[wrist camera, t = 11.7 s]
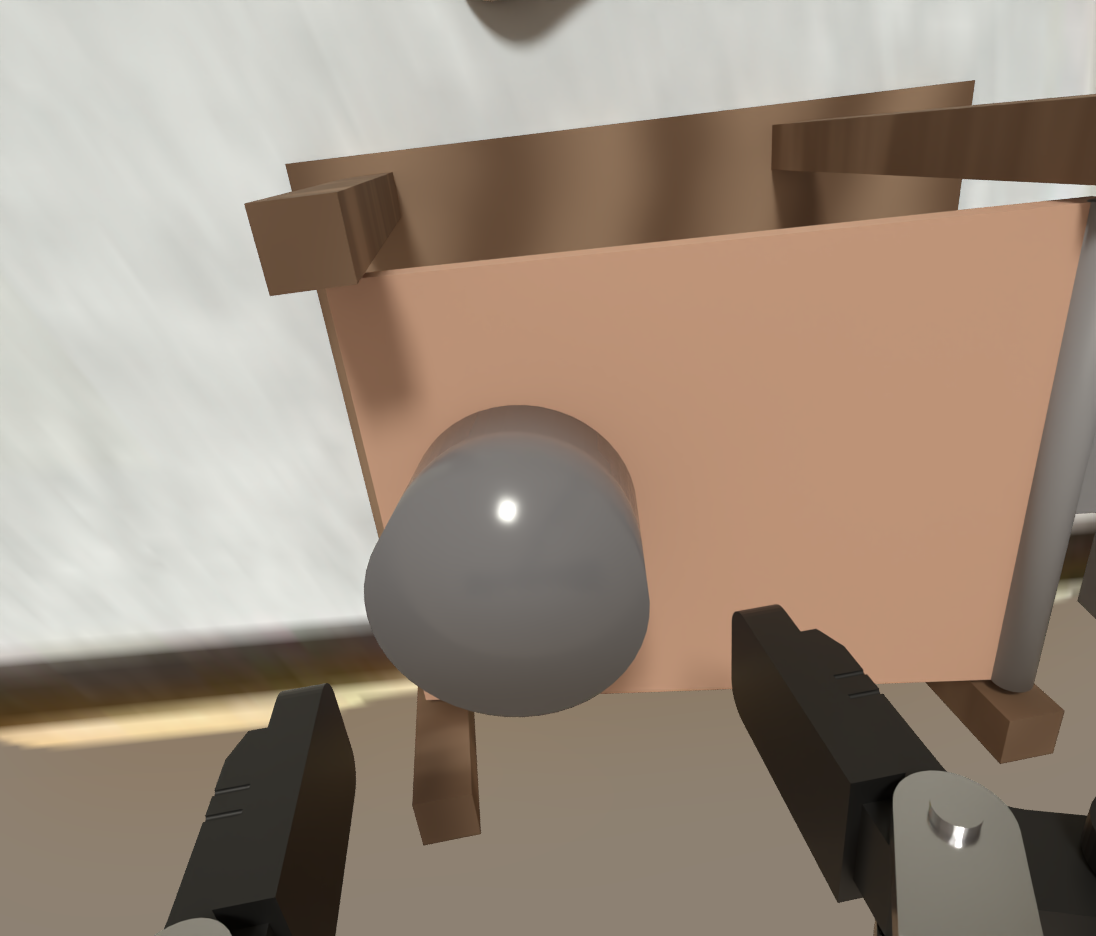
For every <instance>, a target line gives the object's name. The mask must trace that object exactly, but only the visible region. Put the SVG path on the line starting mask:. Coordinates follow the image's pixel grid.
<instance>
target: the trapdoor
mask: <svg viewBox="0 0 1096 936" xmlns="http://www.w3.org/2000/svg"><path fill="white" fill-rule="evenodd" d="M325 290H326V294H327V298H328V302H329V306H330V310H331V314H332V318H333V322H334V326H335V331H336V335H337V339H338V343H339V347H340V351H341V355H342V359H343V363H344V367H345V371H346V375H347V380H348V384H349V388H350V392H351V396H352V400H353V404H354V408H355V412H356V416H357V420H358V425H359V429H360V433H361V437H362V441H363V445H364V449H365V453H366V457H367V461H368V465H369V469H370V474H371V478H372V482H373V486H374V490H375V494H376V498H377V502H378V506H379V510H380V514H381V519H382V523H383V527H384V529H385V527H386V525H387V523H388V521H389V519H390V518H391V516H392V514H393V512H394V510H395V508H396V506H397V504H398V502H399V501H400V499H401V497H402V495H403V493H404V491H405V489H406V487H407V486H408V484H409V482H410V480H411V478H412V476H413V474H414V472H415V471H416V469H417V467H418V465H419V463H420V461H421V459H422V457H423V455H424V454H425V453H426V451H427V450H428V448H429V447H430V445H431V444H432V443H433V442H434V441H435V440H436V439H437V438H438V436H439V435H440V434H441V433H443V432H444V431H445V430H446V429H448V428H449V427H450V426H451V425H453V424H454V423H456V422H458V421H459V420H461V419H463V418H464V417H467V416H469V415H471V414H474V413H476V412H478V411H482V410H486V409H489V408H493V407H500V406H507V405H530V406H539V407H544V408H548V409H552V410H556V411H559V412H562V413H564V414H567V415H570V416H572V417H574V418H576V419H578V420H580V421H582V422H584V423H585V424H587V425H588V426H590V427H591V428H593V429H594V430H595V431H597V432H598V433H599V434H600V435H601V436H603V437H604V438H605V439H606V440H607V441H608V442H609V443H610V444H611V445H612V447H613V448H614V449H615V450H616V451H617V453H618V454H619V455H620V457H621V459H622V460H623V462H624V463H625V465H626V467H627V469H628V471H629V474H630V476H631V478H632V482H633V485H634V489H635V494H636V501H637V509H638V516H639V524H640V531H641V539H642V546H643V554H644V561H645V569H646V577H647V584H648V592H649V599H650V612H649V622H648V627H647V632H646V635H645V638H644V640H643V643H642V646H641V648H640V650H639V652H638V653H637V655H636V657H635V659H634V661H633V662H632V663H631V665H630V666H629V667H628V669H627V670H626V671H625V672H624V673H623V674H622V675H621V676H620V677H619V678H618V679H617V680H616V681H615V682H614V683H613V684H612V685H611V686H609V687H608V688H607V689H605V690H604V691H603V692H601V693H600V694H608V693H635V692H662V691H691V690H716V689H717V690H718V689H732V681H731V647H732V616H733V613H734V612H735V611H740V610H746V609H752V608H757V607H763V606H768V605H774V604H778V605H780V606H781V607H783V609H784V610H785V611H786V612H787V614H788V615H789V616H790V618H791V619H792V620H793V622H794V623H795V625H796V626H797V627H798V629H799V630H800V631H806V630H811V629H818V630H819V631H821V632H823V633H824V634H826V635H827V636H829V637H831V638H832V639H834V640H835V641H837V642H838V643H840V644H842V645H843V646H845V648H846V649H847V650H848V651H849V652H850V654H851V655H852V656H853V657H854V659H855V660H856V661H857V662H858V664H859V665H860V666H861V667H862V669H863V671H864V674H867V675H868V676H869V677H870V678H871V680H872V681H873V682H874V683H875V684H883V683H908V682H909V683H911V682H939V681H966V680H992V682H994V683H995V684H996V685H997V686H999V687H1001V688H1003V689H1005V690H1008V691H1012V692H1027V691H1029V690H1031V689H1032V688H1033V685H1034V681H1035V677H1036V673H1037V668H1038V664H1039V661H1040V656H1041V652H1042V648H1043V644H1044V640H1045V636H1046V632H1047V628H1048V624H1049V620H1050V616H1051V612H1052V607H1053V603H1054V599H1055V595H1056V591H1057V587H1058V583H1059V579H1060V575H1061V571H1062V567H1063V562H1064V558H1065V554H1066V550H1067V546H1068V542H1069V538H1070V534H1071V530H1072V526H1073V522H1074V518H1075V514H1081V513H1096V197H1095V196H1089V197H1079V198H1070V199H1060V200H1051V201H1041V202H1032V203H1022V204H1013V205H1003V206H994V207H984V208H975V209H965V210H956V211H946V212H937V213H927V214H918V215H908V216H899V217H889V218H880V219H870V220H861V221H851V222H842V223H832V224H823V225H813V226H804V227H794V228H785V229H775V230H766V231H756V232H747V233H737V234H728V235H718V236H709V237H699V238H690V239H680V240H671V241H661V242H651V243H642V244H632V245H623V246H613V247H604V248H594V249H585V250H575V251H566V252H556V253H547V254H537V255H528V256H518V257H509V258H499V259H490V260H480V261H471V262H461V263H452V264H442V265H433V266H423V267H414V268H404V269H395V270H385V271H376V272H366V273H364V275H363V276H362V278H361V279H360V281H359V283H358V284H355V285H347V286H340V287H333V288H325ZM1078 602H1079V603H1080V604H1081V605H1082V606H1083V607H1084V608H1085V609H1086V610H1087V611H1088V612H1089V613H1090V614H1091V615H1092V616H1093V617H1095V619H1096V532H1095V536H1094V540H1093V543H1092V547H1091V551H1090V555H1089V559H1088V562H1087V566H1086V570H1085V574H1084V578H1083V582H1082V585H1081V589H1080V593H1079V597H1078ZM424 694H425V698H426V700H440V699H438V698H436V697H434V696H433V695H431V694H429V693H427V692H425V691H424Z"/></svg>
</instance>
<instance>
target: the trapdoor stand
mask: <svg viewBox="0 0 1096 936" xmlns="http://www.w3.org/2000/svg"><path fill="white" fill-rule="evenodd" d="M974 84H975V80H973V81H965V82H956V83H948V84H940V85H932V86H923V87H915V88H907V89H899V90H891V91H882V92H874V93H866V94H858V95H849V96H841V97H833V98H825V99H817V100H808V101H800V102H792V103H784V104H776V105H767V106H759V107H751V108H743V109H734V110H726V111H718V112H710V113H702V114H693V115H685V116H677V117H669V118H660V119H652V120H644V121H636V122H628V123H619V124H611V125H603V126H595V127H586V128H578V129H570V130H562V131H554V132H545V133H537V134H529V135H521V136H512V137H504V138H496V139H488V140H480V141H471V142H463V143H455V144H447V145H438V146H430V147H422V148H414V149H406V150H397V151H389V152H381V153H373V154H365V155H356V156H348V157H340V158H332V159H323V160H315V161H307V162H299V163H291V164H285V165H286V169H287V173H288V177H289V181H290V185H291V189H292V192H289V193H285V194H281V195H277V196H273V197H269V198H265V199H261V200H257V201H253V202H249V203H245V204H244V205H245V209H246V212H247V216H248V219H249V223H250V226H251V230H252V234H253V237H254V241H255V244H256V248H257V251H258V255H259V259H260V262H261V266H262V269H263V273H264V276H265V280H266V284H267V287H268V291H269V294H270V296H274V295H281V294H288V293H296V292H303V291H311V290H317V293H318V297H319V301H320V305H321V309H322V313H323V317H324V321H325V325H326V329H327V333H328V337H329V341H330V345H331V349H332V353H333V357H334V361H335V365H336V369H337V373H338V377H339V381H340V385H341V389H342V393H343V397H344V401H345V405H346V409H347V413H348V417H349V421H350V425H351V429H352V433H353V437H354V441H355V445H356V449H357V453H358V457H359V461H360V465H361V469H362V473H363V477H364V481H365V485H366V489H367V493H368V497H369V501H370V505H371V509H372V513H373V517H374V521H375V525H376V529H377V533H378V537H379V538H380V536H381V534H382V533H383V531H384V527H383V523H382V519H381V514H380V510H379V506H378V502H377V498H376V494H375V490H374V486H373V482H372V478H371V474H370V469H369V465H368V461H367V457H366V453H365V449H364V445H363V441H362V437H361V433H360V429H359V425H358V420H357V416H356V412H355V408H354V404H353V400H352V396H351V392H350V388H349V384H348V380H347V375H346V371H345V367H344V363H343V359H342V355H341V351H340V347H339V343H338V339H337V335H336V331H335V326H334V322H333V318H332V314H331V310H330V306H329V302H328V298H327V294H326V290H325V288H333V287H340V286H347V285H355V284H358V283H359V281H360V279H361V278H362V276H363V275H364V273H366V272H376V271H385V270H395V269H404V268H414V267H423V266H433V265H442V264H452V263H461V262H471V261H480V260H490V259H499V258H509V257H518V256H528V255H537V254H547V253H556V252H566V251H575V250H585V249H594V248H604V247H613V246H623V245H632V244H642V243H651V242H661V241H671V240H680V239H690V238H699V237H709V236H718V235H728V234H737V233H747V232H756V231H766V230H775V229H785V228H794V227H804V226H813V225H823V224H832V223H842V222H851V221H861V220H870V219H880V218H889V217H899V216H908V215H918V214H927V213H937V212H946V211H956V210H958V204H959V197H960V189H961V182H962V179H976V180H996V181H1017V182H1038V183H1059V184H1079V185H1096V94H1090V95H1079V96H1069V97H1058V98H1047V99H1036V100H1025V101H1014V102H1003V103H992V104H981V105H972V99H973V92H974ZM926 683H927V684H928V686H929V687H930V688H931V689H932V690H933V691H934V692H935V693H936V694H937V695H938V696H939V697H940V699H941V700H942V701H943V702H944V703H945V704H946V705H947V706H948V707H949V709H950V710H951V711H952V712H953V713H954V714H955V715H956V716H957V717H958V718H959V719H960V721H961V722H962V723H963V724H964V725H965V726H966V727H967V728H968V729H969V730H970V731H971V733H972V734H973V735H974V736H975V737H976V738H977V739H978V740H979V741H980V742H981V744H982V745H983V746H984V747H985V748H986V749H987V750H988V751H989V752H990V753H991V754H992V756H993V757H994V758H995V759H996V760H997V761H998V762H999V763H1000V764H1002V763H1007V762H1012V761H1017V760H1022V759H1027V758H1032V757H1037V756H1042V755H1046V754H1051V753H1053V751H1054V747H1055V744H1056V740H1057V736H1058V733H1059V729H1060V726H1061V722H1062V718H1063V715H1064V710H1063V709H1062V708H1061V707H1060V706H1059V705H1057V704H1056V703H1055V702H1054V701H1053V700H1052V699H1051V698H1050V697H1048V696H1047V695H1046V694H1045V693H1044V692H1043V691H1042V690H1041V689H1040V688H1039V687H1037V686H1036V685H1035V684H1034V685H1033V688H1032V689H1031V690H1029V691H1027V692H1012V691H1008V690H1005V689H1003V688H1001V687H999V686H997V685H996V684H995V683H994V682H992V680H966V681H939V682H926ZM412 806H413V809H414V813H415V817H416V820H417V824H418V827H419V831H420V835H421V838H422V842H423V845H428V844H433V843H438V842H443V841H448V840H453V839H458V838H463V837H468V836H473V835H478V834H481V829H480V828H481V827H480V809H479V791H478V774H477V755H476V738H475V719H474V712H472V711H469V710H466V709H463V708H459V707H456V706H454V705H451V704H449V703H447V702H444V701H442V700H426V698H425V694H424V690H423V689H421V688H420V687H418V696H417V719H416V739H415V760H414V782H413V803H412Z"/></svg>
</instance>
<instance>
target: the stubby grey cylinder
mask: <svg viewBox="0 0 1096 936" xmlns="http://www.w3.org/2000/svg"><path fill="white" fill-rule="evenodd" d="M364 602H365V607H366V613H367V617H368V620H369V623H370V626H371V629H372V632H373V634H374V636H375V638H376V640H377V642H378V644H379V646H380V647H381V649H382V650H383V651H384V653H385V654H386V656H387V657H388V659H389V660H390V661H391V662H392V663H393V664H394V665H395V667H396V668H397V669H398V670H399V671H400V672H401V673H402V674H403V675H405V676H406V677H407V678H408V679H409V680H410V681H411V682H413V683H414V684H415V685H417V686H418V687H420V688H421V689H423V690H424V691H425V692H427V693H429V694H431V695H433V696H434V697H436V698H438V699H440V700H442V701H444V702H447V703H449V704H451V705H454V706H456V707H459V708H463V709H466V710H469V711H472V712H477V713H482V714H487V715H494V716H504V717H529V716H539V715H545V714H550V713H555V712H559V711H562V710H565V709H569V708H572V707H574V706H576V705H579V704H581V703H583V702H586V701H588V700H590V699H591V698H593V697H595V696H596V695H598V694H600V693H601V692H603V691H604V690H605V689H607V688H608V687H609V686H611V685H612V684H613V683H614V682H615V681H616V680H617V679H618V678H619V677H620V676H621V675H622V674H623V673H624V672H625V671H626V670H627V669H628V667H629V666H630V665H631V663H632V662H633V661H634V659H635V657H636V655H637V653H638V652H639V650H640V648H641V646H642V643H643V640H644V638H645V635H646V632H647V627H648V622H649V612H650V599H649V592H648V584H647V577H646V569H645V561H644V554H643V546H642V539H641V531H640V524H639V516H638V509H637V501H636V494H635V489H634V485H633V482H632V478H631V476H630V474H629V471H628V469H627V467H626V465H625V463H624V462H623V460H622V459H621V457H620V455H619V454H618V453H617V451H616V450H615V449H614V448H613V447H612V445H611V444H610V443H609V442H608V441H607V440H606V439H605V438H604V437H603V436H601V435H600V434H599V433H598V432H597V431H595V430H594V429H593V428H591V427H590V426H588V425H587V424H585V423H584V422H582V421H580V420H578V419H576V418H574V417H572V416H570V415H567V414H564V413H562V412H559V411H556V410H552V409H548V408H544V407H539V406H530V405H507V406H500V407H493V408H489V409H486V410H482V411H478V412H476V413H474V414H471V415H469V416H467V417H464V418H463V419H461V420H459V421H458V422H456V423H454V424H453V425H451V426H450V427H449V428H448V429H446V430H445V431H444V432H443V433H441V434H440V435H439V436H438V438H437V439H436V440H435V441H434V442H433V443H432V444H431V445H430V447H429V448H428V450H427V451H426V453H425V454H424V455H423V457H422V459H421V461H420V463H419V465H418V467H417V469H416V471H415V472H414V474H413V476H412V478H411V480H410V482H409V484H408V486H407V487H406V489H405V491H404V493H403V495H402V497H401V499H400V501H399V502H398V504H397V506H396V508H395V510H394V512H393V514H392V516H391V518H390V519H389V521H388V523H387V525H386V527H385V529H384V531H383V533H382V534H381V536H380V538H379V540H378V542H377V544H376V546H375V548H374V550H373V552H372V554H371V556H370V560H369V563H368V566H367V570H366V576H365V583H364Z"/></svg>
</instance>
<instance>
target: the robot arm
mask: <svg viewBox="0 0 1096 936" xmlns="http://www.w3.org/2000/svg"><path fill="white" fill-rule="evenodd" d="M731 681H732V690H733V695H734V700H735V703H736V707H737V710H738V712H739V715H740V717H741V719H742V721H743V723H744V725H745V727H746V729H747V731H748V733H749V735H750V737H751V738H752V740H753V742H754V744H755V746H756V748H757V750H758V752H759V754H760V755H761V757H762V759H763V761H764V763H765V765H766V767H767V769H768V771H769V773H770V775H771V776H772V778H773V780H774V782H775V784H776V786H777V788H778V790H779V791H780V794H781V796H782V797H783V799H784V801H785V803H786V805H787V807H788V809H789V811H790V813H791V815H792V816H793V818H794V820H795V822H796V824H797V826H798V828H799V830H800V832H801V833H802V835H803V837H804V839H805V841H806V843H807V845H808V847H809V849H810V851H811V853H812V855H813V856H814V858H815V860H816V862H817V864H818V866H819V868H820V870H821V872H822V874H823V875H824V877H825V879H826V881H827V883H828V885H829V887H830V889H831V891H832V893H833V895H834V896H835V898H836V900H837V902H838V903H840V902H844V901H849V900H853V899H857V898H864V900H865V901H866V903H867V905H868V907H869V909H870V910H871V912H872V914H873V916H874V917H875V924H874V934H873V936H1096V797H1095V799H1094V800H1093V802H1092V804H1091V807H1090V810H1089V813H1088V816H1085V815H1074V814H1064V813H1054V812H1043V811H1033V810H1024V809H1018V808H1012V807H1009V806H1007V805H1006V804H1005V803H1004V802H1003V801H1002V800H1001V799H1000V798H999V797H997V796H996V795H995V794H994V793H993V792H991V791H990V790H988V789H987V788H985V787H984V786H982V785H981V784H979V783H977V782H975V781H973V780H971V779H969V778H966V777H963V776H961V775H957V774H954V773H950V772H947V771H946V770H945V769H944V768H943V767H942V766H941V765H940V763H939V762H938V761H937V760H936V758H935V757H934V756H933V755H932V753H931V752H930V751H929V750H928V749H927V747H926V746H925V745H924V744H923V742H922V741H921V740H920V739H919V737H918V736H917V735H916V734H915V733H914V731H913V730H912V729H911V728H910V727H909V725H908V724H907V723H906V721H905V720H904V719H903V718H902V717H901V715H900V714H899V713H898V712H897V711H896V709H895V708H894V707H893V705H892V704H891V703H890V702H889V701H888V699H887V698H886V697H885V696H884V694H880V692H879V688H878V687H877V686H876V685H875V683H874V682H873V681H872V680H871V678H870V677H869V676H868V675H867V674H864V671H863V669H862V667H861V666H860V665H859V664H858V662H857V661H856V660H855V659H854V657H853V656H852V655H851V654H850V652H849V651H848V650H847V649H846V648H845V646H843V645H842V644H840V643H838V642H837V641H835V640H834V639H832V638H831V637H829V636H827V635H826V634H824V633H823V632H821V631H819V630H818V629H811V630H806V631H800V630H799V629H798V627H797V626H796V625H795V623H794V622H793V620H792V619H791V618H790V616H789V615H788V614H787V612H786V611H785V610H784V609H783V607H781V606H780V605H778V604H774V605H768V606H763V607H757V608H752V609H746V610H740V611H735V612H734V613H733V616H732V647H731ZM355 789H356V771H355V761H354V756H353V751H352V748H351V744H350V741H349V738H348V735H347V732H346V729H345V726H344V722H343V719H342V716H341V713H340V710H339V707H338V704H337V700H336V697H335V694H334V691H333V689H332V687H331V686H330V684H328V683H326V684H320V685H315V686H309V687H304V688H298V689H293V690H287V691H282V692H280V693H279V695H278V697H277V699H276V702H275V706H274V709H273V712H272V715H271V719H270V722H269V725H268V728H263V729H257V730H252V731H248V732H247V734H246V735H245V736H244V737H243V739H242V740H241V741H240V742H239V744H238V745H237V746H236V747H235V749H234V750H233V751H232V752H231V754H230V755H229V756H228V757H227V759H226V760H225V763H224V765H223V768H222V771H221V774H220V776H219V779H218V782H217V785H216V788H215V796H213V797H212V799H211V801H210V805H209V807H208V810H207V813H206V815H205V816H206V821H205V822H203V824H202V826H201V829H200V832H199V835H198V838H197V840H196V843H195V846H194V849H193V851H192V854H191V857H190V860H189V862H188V865H187V868H186V871H185V874H184V876H183V879H182V882H181V885H180V887H179V891H178V893H177V896H176V899H175V901H174V904H173V907H172V910H171V913H170V916H169V918H168V921H167V923H166V925H165V928H164V930H162V931H161V932H159V933H157V934H156V935H155V936H335V934H336V926H337V920H338V912H339V905H340V897H341V891H342V884H343V876H344V869H345V862H346V854H347V847H348V840H349V833H350V826H351V818H352V812H353V804H354V796H355Z"/></svg>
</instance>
